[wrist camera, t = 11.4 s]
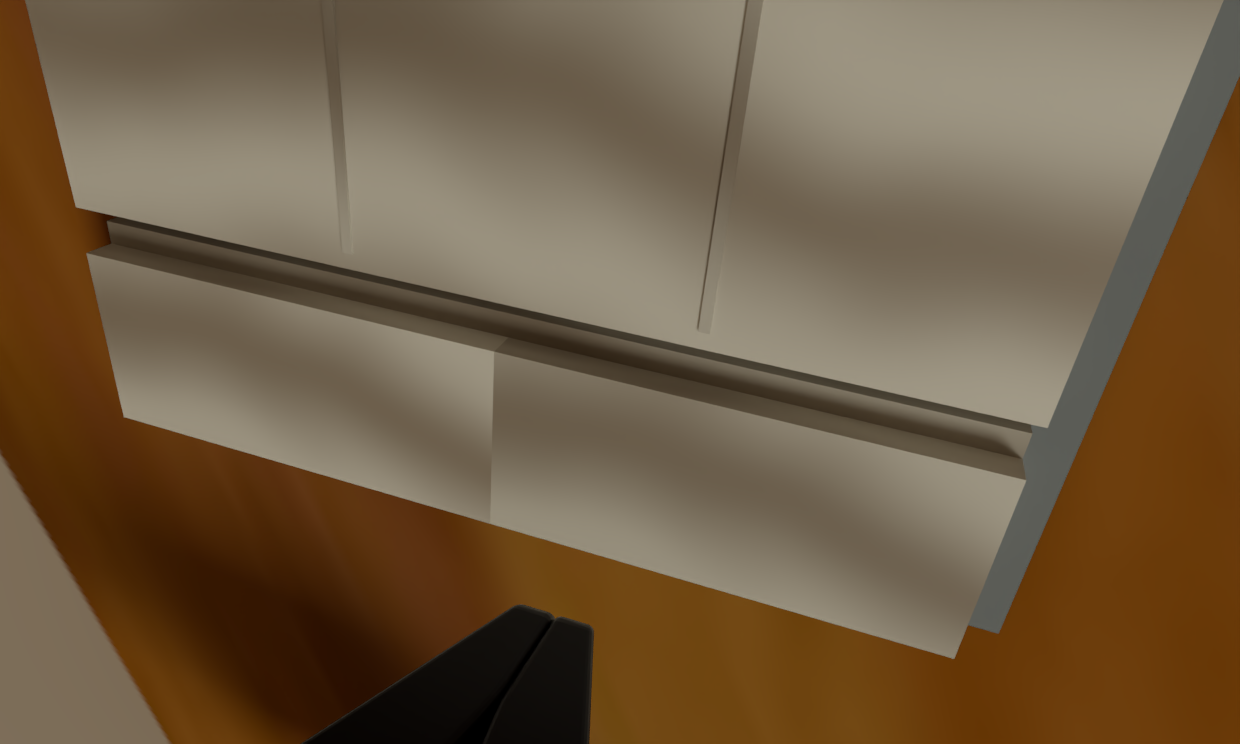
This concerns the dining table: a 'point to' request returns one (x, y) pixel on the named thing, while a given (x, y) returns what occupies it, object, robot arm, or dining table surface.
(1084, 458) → the dining table surface
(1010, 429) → the floor row
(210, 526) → the dining table surface
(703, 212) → the plank
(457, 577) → the dining table surface
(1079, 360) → the underlay mat
